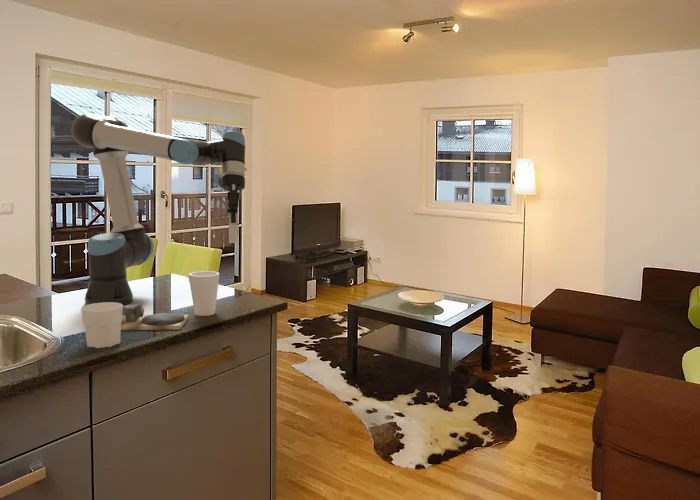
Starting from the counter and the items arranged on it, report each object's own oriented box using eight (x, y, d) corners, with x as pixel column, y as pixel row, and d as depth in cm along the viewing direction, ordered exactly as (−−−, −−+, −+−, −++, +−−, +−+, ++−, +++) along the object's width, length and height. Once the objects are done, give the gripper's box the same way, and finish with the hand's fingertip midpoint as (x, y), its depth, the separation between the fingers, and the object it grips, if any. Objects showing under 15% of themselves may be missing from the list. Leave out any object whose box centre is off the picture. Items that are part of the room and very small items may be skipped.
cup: (74, 346, 142) (72, 309, 140) (104, 335, 151) (102, 300, 150) (103, 351, 138) (102, 313, 137) (132, 340, 148) (131, 304, 146)
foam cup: (211, 318, 171) (210, 277, 169) (184, 316, 172) (183, 275, 171) (224, 310, 180) (223, 271, 178) (198, 308, 182) (197, 270, 180)
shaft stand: (101, 330, 156) (100, 308, 155) (115, 318, 168) (114, 299, 167) (179, 329, 158) (179, 308, 157) (188, 318, 170) (187, 298, 169)
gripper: (246, 164, 172) (245, 229, 168) (244, 188, 196) (243, 246, 191) (221, 163, 170) (220, 228, 166) (222, 188, 194) (221, 246, 190)
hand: (233, 238), depth 179 cm, fingers open, 13 cm apart
